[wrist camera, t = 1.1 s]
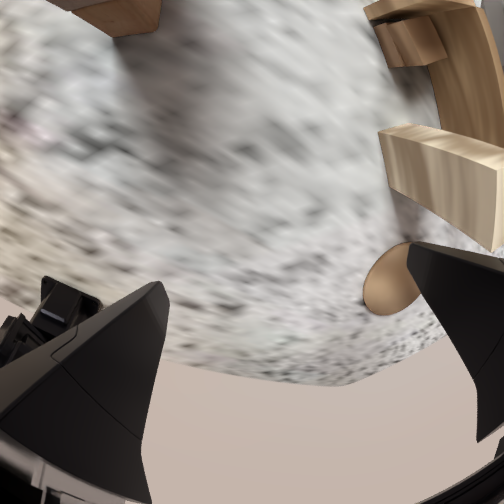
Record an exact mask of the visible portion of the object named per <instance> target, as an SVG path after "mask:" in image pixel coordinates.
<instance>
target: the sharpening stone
mask: <svg viewBox="0 0 504 504" xmlns="http://www.w3.org/2000/svg"><path fill="white" fill-rule="evenodd" d="M481 8H482V9H484V12H485V14H486V17H487V20H488V22H489V25H490V28H491V31H492V34H493V37H494V40H495V43H496V47H497V50H498V54H499V58H500V61H501V65H502V70H503V74H504V0H482V2H481Z"/></svg>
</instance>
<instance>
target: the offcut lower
mask: <svg viewBox="0 0 504 504" xmlns="http://www.w3.org/2000/svg"><path fill="white" fill-rule="evenodd" d="M393 23H396V22H389V23H383V24H380V25H377V26H375V27H373V28H374V30H375V33H376V35H377V38H378V40H379V43H380V46H381V48H382V51H383V54H384V57H385V59H386V62H387V65H388V68H394V67H403V66H405V64H404V61H403V59H402V57H401V55H400V53H399V51H398V49H397V47H396V45H395V43H394V41H393V39H392V37H391V35H390V33H389V31H388V30H387V28H386V26H387V25H390V24H393ZM429 64H431V63H429Z"/></svg>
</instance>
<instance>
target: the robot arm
mask: <svg viewBox="0 0 504 504" xmlns="http://www.w3.org/2000/svg"><path fill="white" fill-rule="evenodd" d="M406 265H407V269H408V271H409V272H410V274H411V276H412V278H413V279H414V281H415V283H416V285H417V287H418V289H419V290H420V292H421V294H422V296H423V297H424V299H425V300H426V302H427V303H428V305H429V306H430V308H431V309H432V311H433V312H434V314H435V315H436V317H437V319H438V320H439V322H440V323H441V325H442V326H443V328H444V330H445V331H446V333H447V335H448V336H449V338H450V339H451V341H452V343H453V344H454V346H455V348H456V350H457V351H458V353H459V355H460V357H461V359H462V360H463V362H464V364H465V366H466V367H467V369H468V371H469V373H470V375H471V377H472V379H474V380H473V381H474V383H475V386H476V389H477V435H476V440H477V443H479V442H480V441H482V440H483V439H485V438H486V437H488V436H489V435H491V434H492V433H494V432H495V431H497V430H498V429H499V428H501V427H502V426H504V259H503V258H497V257H492V256H488V255H483V254H479V253H474V252H470V251H465V250H460V249H455V248H451V247H446V246H441V245H436V244H431V243H425V242H412V243H411V244H410V245H409V250H408V255H407V261H406ZM45 280H46V281H47V282H46V281H45ZM93 302H94V303H93ZM95 303H96V304H95ZM99 305H100V302H99V300H98V299H97V298H95V297H92V296H90V295H88V294H85V293H83V292H81V291H78V290H76V289H74V288H72V287H69V286H67V285H65V284H63V283H61V282H59V281H56V280H54V279H52V278H50V277H48V276H44V277H43V278H42V280H41V304H40V306H39V307H38V309H37V310H36V312H35V314H34V315H33V317H32V319H31V320H30V322H29V321H28V320H27V319H26V318H25V316H24V315H23V314H22V313H21V314H20V315H19V316H18V317H17V318H16V317H12V316H8V317H7V318H6V320H5V321H4V323H3V325H2V326H1V328H0V504H125V500H127V501H131V502H136V503H141V504H152V500H151V496H150V492H149V488H148V484H147V480H146V476H145V472H144V467H143V463H142V457H141V444H142V438H143V433H144V428H145V423H146V418H147V413H148V408H149V404H150V399H151V395H152V390H153V386H154V382H155V377H156V373H157V369H158V365H159V361H160V357H161V353H162V349H163V345H164V341H165V337H166V330H167V322H168V315H169V308H170V302H169V298H168V296H167V293H166V291H165V288H164V286H163V284H162V282H160V281H155V282H150V283H148V284H146V285H145V286H143V287H141V288H139V289H138V290H136V291H134V292H133V293H131V294H129V295H127V296H126V297H124V298H122V299H121V300H119V301H117V302H115V303H114V304H112V305H110V306H109V307H107V308H105V309H104V310H102V311H100V312H99V313H98V310H99ZM416 504H504V436H503V437H502V438H501V439H500V441H499V444H498V448H497V451H496V454H495V457H494V460H492V461H491V462H489V463H488V464H487V465H485V466H484V467H482V468H481V469H479V470H478V471H476V472H475V473H473V474H471V475H470V476H468V477H466V478H465V479H463V480H461V481H460V482H458V483H456V484H454V485H453V486H451V487H449V488H447V489H445V490H443V491H441V492H439V493H437V494H435V495H433V496H431V497H429V498H427V499H425V500H423V501H420V502H419V503H416Z"/></svg>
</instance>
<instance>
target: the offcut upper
mask: <svg viewBox="0 0 504 504" xmlns="http://www.w3.org/2000/svg"><path fill="white" fill-rule="evenodd" d="M386 28H387V30H388V31H389V33H390V35H391V37H392V39H393V41H394V43H395V45H396V47H397V49H398V51H399V53H400V55H401V57H402V59H403V61H404V64H405V66H406V67H408V66H423V65H427V64H429V63H432V62H435V61H438V60H441V59H444V58H447V57H448V56H447V54H446V52H445V49H444V47H443V45H442V42H441V40H440V38H439V36H438V33H437V31H436V29H435V27H434V25H433V23H432V21H431V19H430V17H429V16H424V17H418V18H413V19H408V20H403V21H400V22H396V23H393V24H390V25H387V26H386Z"/></svg>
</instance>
